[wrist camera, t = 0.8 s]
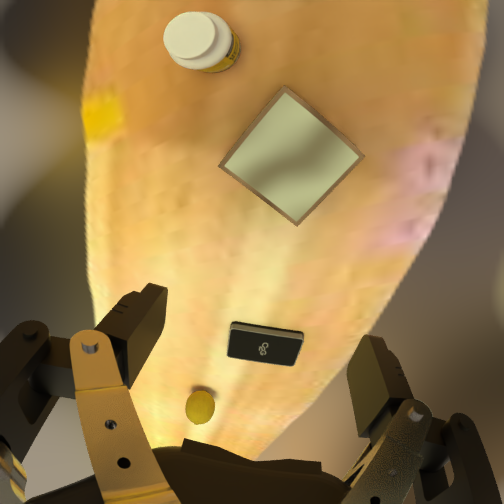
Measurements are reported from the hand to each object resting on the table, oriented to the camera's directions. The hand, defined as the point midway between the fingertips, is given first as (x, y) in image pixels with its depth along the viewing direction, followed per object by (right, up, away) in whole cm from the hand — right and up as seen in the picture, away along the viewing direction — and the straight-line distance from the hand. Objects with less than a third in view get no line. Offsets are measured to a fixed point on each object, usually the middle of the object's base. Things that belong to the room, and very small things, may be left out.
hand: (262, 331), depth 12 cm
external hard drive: (+2, -10, +35) cm, 36 cm away
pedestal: (+4, +14, +19) cm, 24 cm away
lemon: (-10, -24, +44) cm, 51 cm away
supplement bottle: (-4, +24, +14) cm, 28 cm away
